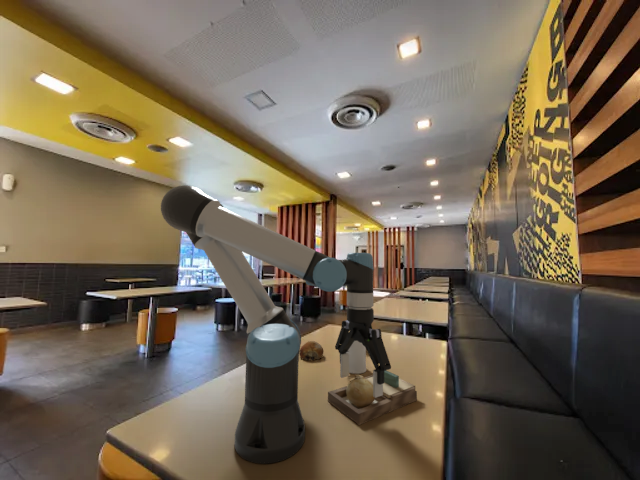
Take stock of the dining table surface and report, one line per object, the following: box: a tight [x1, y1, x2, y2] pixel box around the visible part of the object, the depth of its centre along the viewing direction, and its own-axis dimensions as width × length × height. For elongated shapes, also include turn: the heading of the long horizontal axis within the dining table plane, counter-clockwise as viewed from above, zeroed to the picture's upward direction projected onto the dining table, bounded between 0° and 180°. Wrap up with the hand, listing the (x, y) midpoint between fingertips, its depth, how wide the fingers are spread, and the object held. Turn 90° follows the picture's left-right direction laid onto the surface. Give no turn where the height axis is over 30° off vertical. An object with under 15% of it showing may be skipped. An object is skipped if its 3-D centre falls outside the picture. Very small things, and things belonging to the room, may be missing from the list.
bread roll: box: [299, 340, 324, 361], centre depth 111 cm, size 10×10×8 cm
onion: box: [346, 374, 375, 408], centre depth 73 cm, size 8×8×7 cm
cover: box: [367, 370, 416, 398], centre depth 79 cm, size 11×11×4 cm
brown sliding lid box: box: [327, 374, 418, 426], centre depth 75 cm, size 22×13×4 cm, turn 123°
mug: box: [346, 341, 367, 375], centre depth 97 cm, size 12×8×12 cm
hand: (360, 385), depth 73 cm, fingers open, 13 cm apart
